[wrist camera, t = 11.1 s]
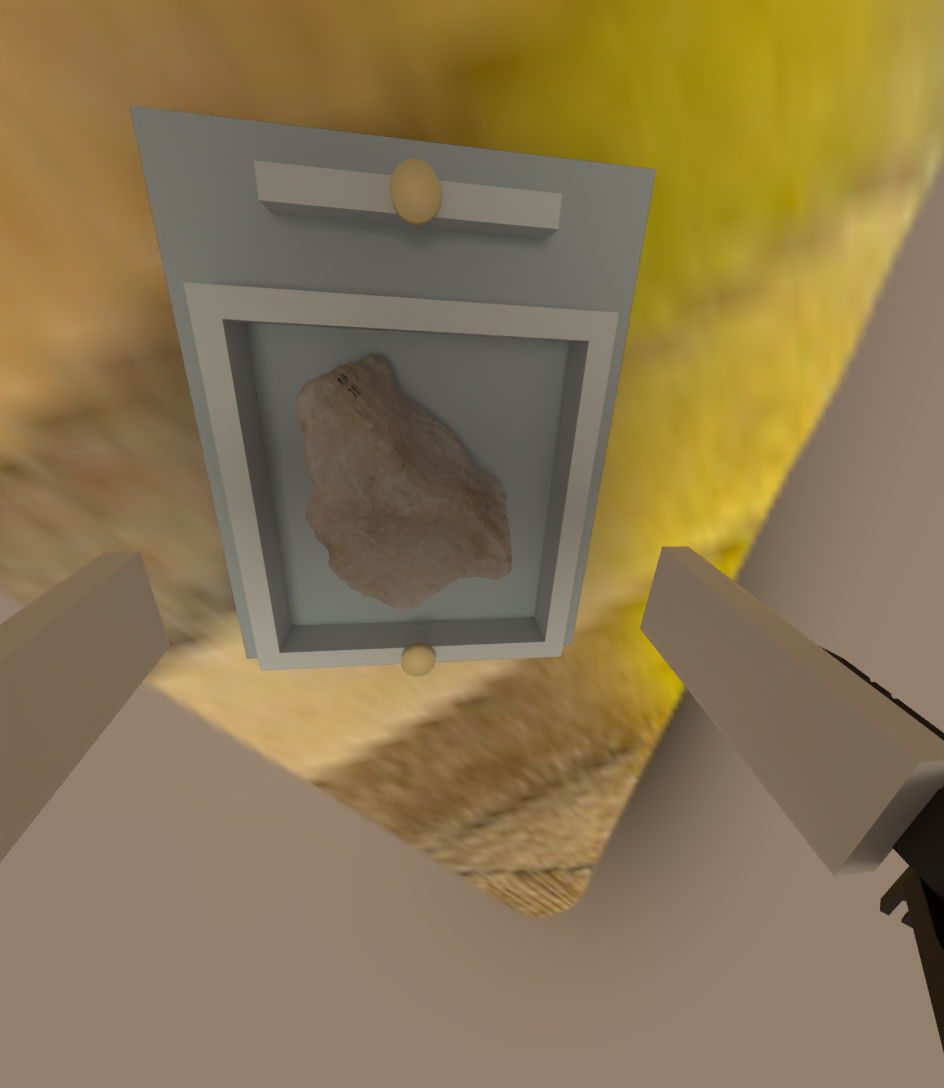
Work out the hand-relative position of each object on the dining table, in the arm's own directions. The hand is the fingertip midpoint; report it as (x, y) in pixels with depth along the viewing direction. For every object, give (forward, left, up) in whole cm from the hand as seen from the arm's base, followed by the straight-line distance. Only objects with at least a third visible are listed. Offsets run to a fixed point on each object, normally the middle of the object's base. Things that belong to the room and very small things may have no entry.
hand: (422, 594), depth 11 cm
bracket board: (-2, 0, -11) cm, 11 cm away
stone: (-1, -1, -10) cm, 10 cm away
